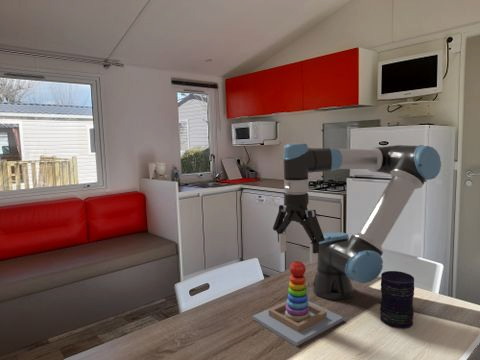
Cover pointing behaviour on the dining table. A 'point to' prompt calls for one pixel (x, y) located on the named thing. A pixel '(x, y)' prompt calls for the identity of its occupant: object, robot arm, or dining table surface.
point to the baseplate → (294, 329)
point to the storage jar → (397, 299)
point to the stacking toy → (297, 294)
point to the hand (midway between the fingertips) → (297, 257)
